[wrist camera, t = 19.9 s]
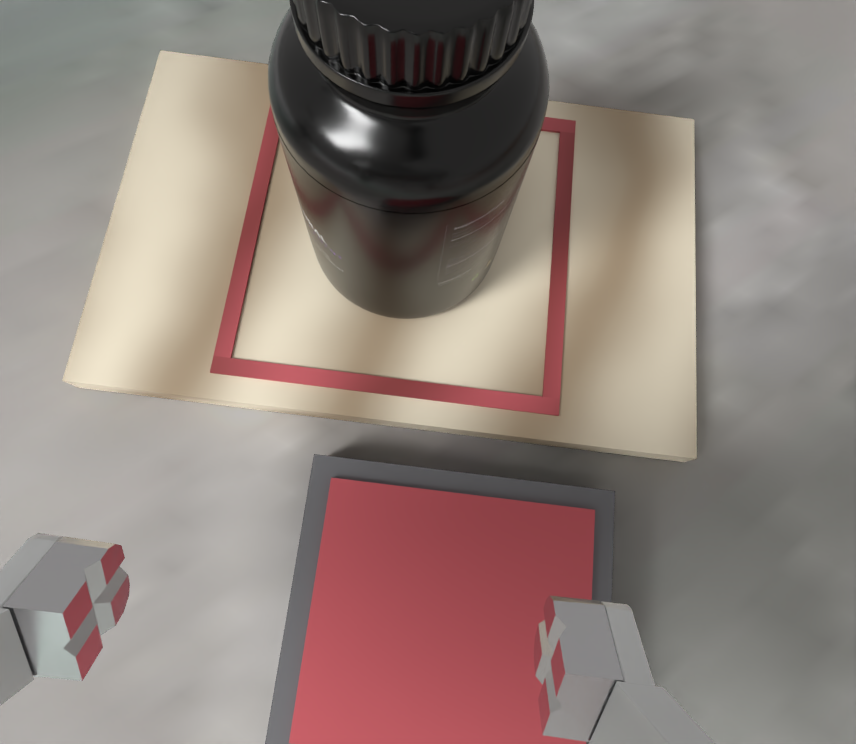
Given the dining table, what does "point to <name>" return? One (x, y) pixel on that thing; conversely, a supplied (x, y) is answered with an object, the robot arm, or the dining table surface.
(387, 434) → the dining table surface
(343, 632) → the ink pad
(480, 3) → the supplement bottle
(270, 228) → the marked board
